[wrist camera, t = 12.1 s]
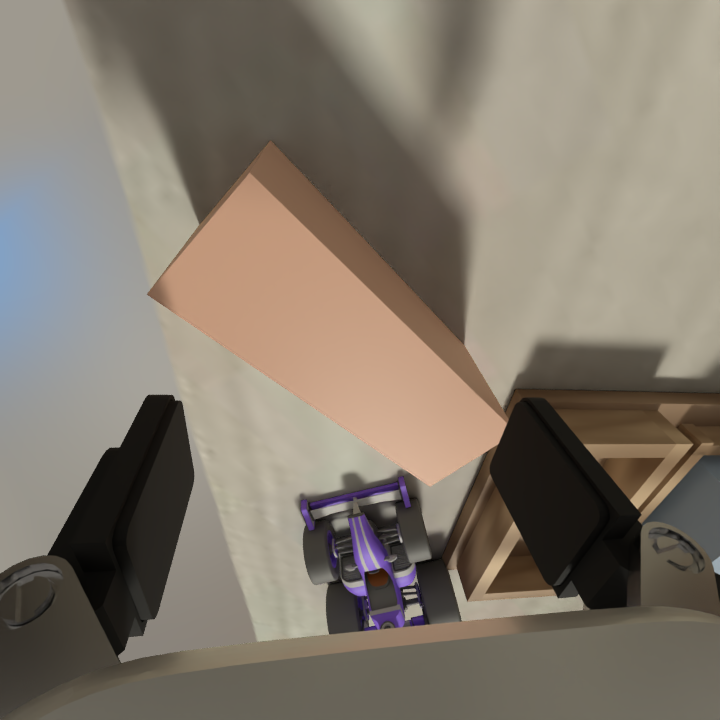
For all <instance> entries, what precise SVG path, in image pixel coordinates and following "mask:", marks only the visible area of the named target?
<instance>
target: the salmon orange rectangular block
mask: <svg viewBox="0 0 720 720" xmlns="http://www.w3.org/2000/svg"><path fill="white" fill-rule="evenodd" d="M147 295H148V296H150V297H151V298H153V299H154V300H156V301H157V302H159V303H160V304H162V305H163V306H165V307H166V308H168V309H169V310H170V311H172V312H173V313H175V314H176V315H178V316H179V317H181V318H182V319H184V320H185V321H187V322H188V323H190V324H191V325H193V326H194V327H196V328H197V329H198V330H200V331H201V332H203V333H204V334H206V335H207V336H209V337H210V338H212V339H213V340H215V341H216V342H218V343H219V344H221V345H222V346H223V347H225V348H226V349H228V350H229V351H231V352H232V353H234V354H235V355H237V356H238V357H240V358H241V359H243V360H244V361H246V362H247V363H249V364H250V365H251V366H253V367H254V368H256V369H257V370H259V371H260V372H262V373H263V374H265V375H266V376H268V377H269V378H271V379H272V380H274V381H275V382H277V383H278V384H279V385H281V386H282V387H284V388H285V389H287V390H288V391H290V392H291V393H293V394H294V395H296V396H297V397H299V398H300V399H302V400H303V401H304V402H306V403H307V404H309V405H310V406H312V407H313V408H315V409H316V410H318V411H319V412H321V413H322V414H324V415H325V416H327V417H328V418H330V419H331V420H332V421H334V422H335V423H337V424H338V425H340V426H341V427H343V428H344V429H346V430H347V431H349V432H350V433H352V434H353V435H355V436H356V437H357V438H359V439H360V440H362V441H363V442H365V443H366V444H368V445H369V446H371V447H372V448H374V449H375V450H377V451H378V452H380V453H381V454H383V455H384V456H385V457H387V458H388V459H390V460H391V461H393V462H394V463H396V464H397V465H399V466H400V467H402V468H403V469H405V470H406V471H408V472H409V473H411V474H412V475H413V476H415V477H416V478H418V479H419V480H421V481H422V482H424V483H425V484H427V485H428V486H432V485H434V484H435V483H437V482H438V481H440V480H442V479H443V478H445V477H446V476H448V475H450V474H451V473H453V472H454V471H456V470H458V469H459V468H461V467H462V466H464V465H466V464H467V463H469V462H471V461H472V460H474V459H475V458H477V457H479V456H480V455H482V454H483V453H485V452H487V451H488V450H490V449H491V448H493V447H495V446H496V445H498V444H499V441H500V439H501V437H502V434H503V432H504V429H505V427H506V425H507V422H508V420H509V419H508V417H507V416H506V414H505V412H504V411H503V409H502V407H501V406H500V404H499V402H498V401H497V399H496V397H495V396H494V394H493V392H492V391H491V389H490V387H489V386H488V384H487V382H486V381H485V379H484V377H483V376H482V374H481V372H480V371H479V369H478V367H477V366H476V364H475V362H474V361H473V359H472V357H471V356H470V354H469V352H468V351H467V349H466V347H465V346H464V344H463V343H462V342H461V341H460V340H459V339H458V338H457V337H456V336H455V335H454V334H453V333H452V332H451V331H450V330H449V329H448V327H447V326H446V325H445V324H444V323H443V322H442V321H441V320H440V319H439V318H438V317H437V316H436V315H435V314H434V313H433V312H432V311H431V310H430V308H429V307H428V306H427V305H426V304H425V303H424V302H423V301H422V300H421V299H420V298H419V297H418V296H417V295H416V294H415V293H414V292H413V290H412V289H411V288H410V287H409V286H408V285H407V284H406V283H405V282H404V281H403V280H402V279H401V278H400V277H399V276H398V275H397V274H396V272H395V271H394V270H393V269H392V268H391V267H390V266H389V265H388V264H387V263H386V262H385V261H384V260H383V259H382V258H381V257H380V256H379V254H378V253H377V252H376V251H375V250H374V249H373V248H372V247H371V246H370V245H369V244H368V243H367V242H366V241H365V240H364V239H363V238H362V237H361V235H360V234H359V233H358V232H357V231H356V230H355V229H354V228H353V227H352V226H351V225H350V224H349V223H348V222H347V221H346V220H345V219H344V217H343V216H342V215H341V214H340V213H339V212H338V211H337V210H336V209H335V208H334V207H333V206H332V205H331V204H330V203H329V202H328V201H327V199H326V198H325V197H324V196H323V195H322V194H321V193H320V192H319V191H318V190H317V189H316V188H315V187H314V186H313V185H312V184H311V183H310V181H309V180H308V179H307V178H306V177H305V176H304V175H303V174H302V173H301V172H300V171H299V170H298V169H297V168H296V167H295V166H294V165H293V164H292V162H291V161H290V160H289V159H288V158H287V157H286V156H285V155H284V154H283V153H282V152H281V151H280V150H279V149H278V148H277V147H276V146H275V144H274V143H273V142H272V141H271V140H270V141H269V143H268V144H267V145H266V146H265V147H264V148H263V150H262V151H261V152H260V153H259V154H258V156H257V157H256V158H255V159H254V160H253V162H252V163H251V164H250V165H249V166H248V168H247V169H246V170H245V171H244V172H243V174H242V175H241V176H240V177H239V178H238V180H237V181H236V182H235V183H234V184H233V186H232V187H231V188H230V189H229V190H228V191H227V193H226V194H225V195H224V196H223V197H222V199H221V200H220V201H219V202H218V203H217V205H216V206H215V207H214V208H213V209H212V211H211V212H210V213H209V214H208V215H207V217H206V218H205V219H204V220H203V221H202V223H201V224H200V225H199V226H198V228H197V229H196V230H195V232H194V233H193V234H192V235H191V237H190V238H189V239H188V241H187V242H186V243H185V245H184V246H183V247H182V249H181V250H180V251H179V253H178V254H177V255H176V257H175V258H174V259H173V261H172V262H171V263H170V265H169V266H168V267H167V269H166V270H165V271H164V272H163V274H162V275H161V276H160V278H159V279H158V280H157V282H156V283H155V284H154V286H153V287H152V288H151V290H150V291H149V292H148V294H147Z"/></svg>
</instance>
